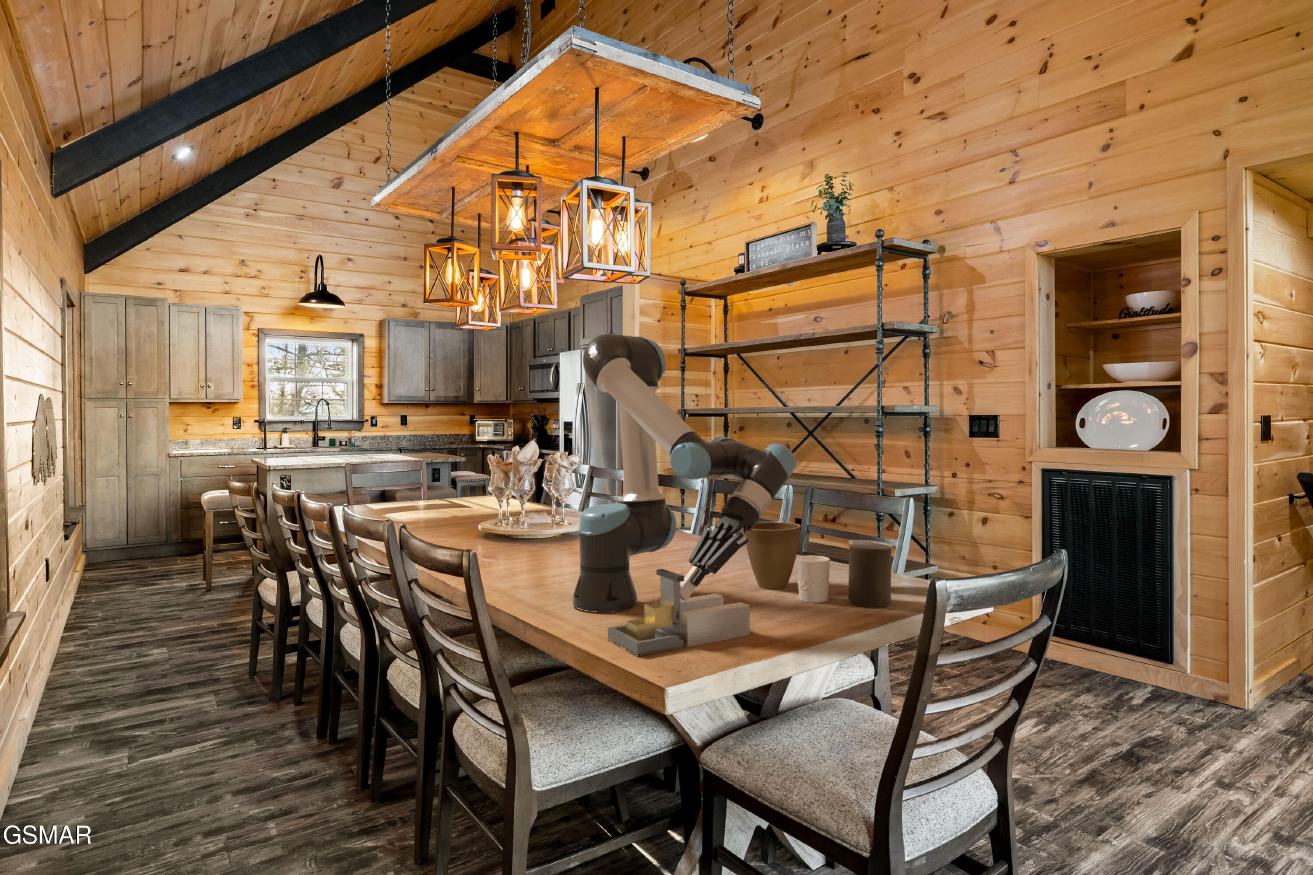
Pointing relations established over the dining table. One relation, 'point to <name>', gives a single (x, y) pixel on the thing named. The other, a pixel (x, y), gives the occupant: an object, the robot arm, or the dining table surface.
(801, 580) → the white cup
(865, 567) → the pillar candle
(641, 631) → the brass chip
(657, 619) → the brass chip
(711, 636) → the slotted rail
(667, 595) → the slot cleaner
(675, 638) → the tray
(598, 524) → the robot arm
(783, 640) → the dining table surface
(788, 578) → the plant pot
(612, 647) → the dining table surface
